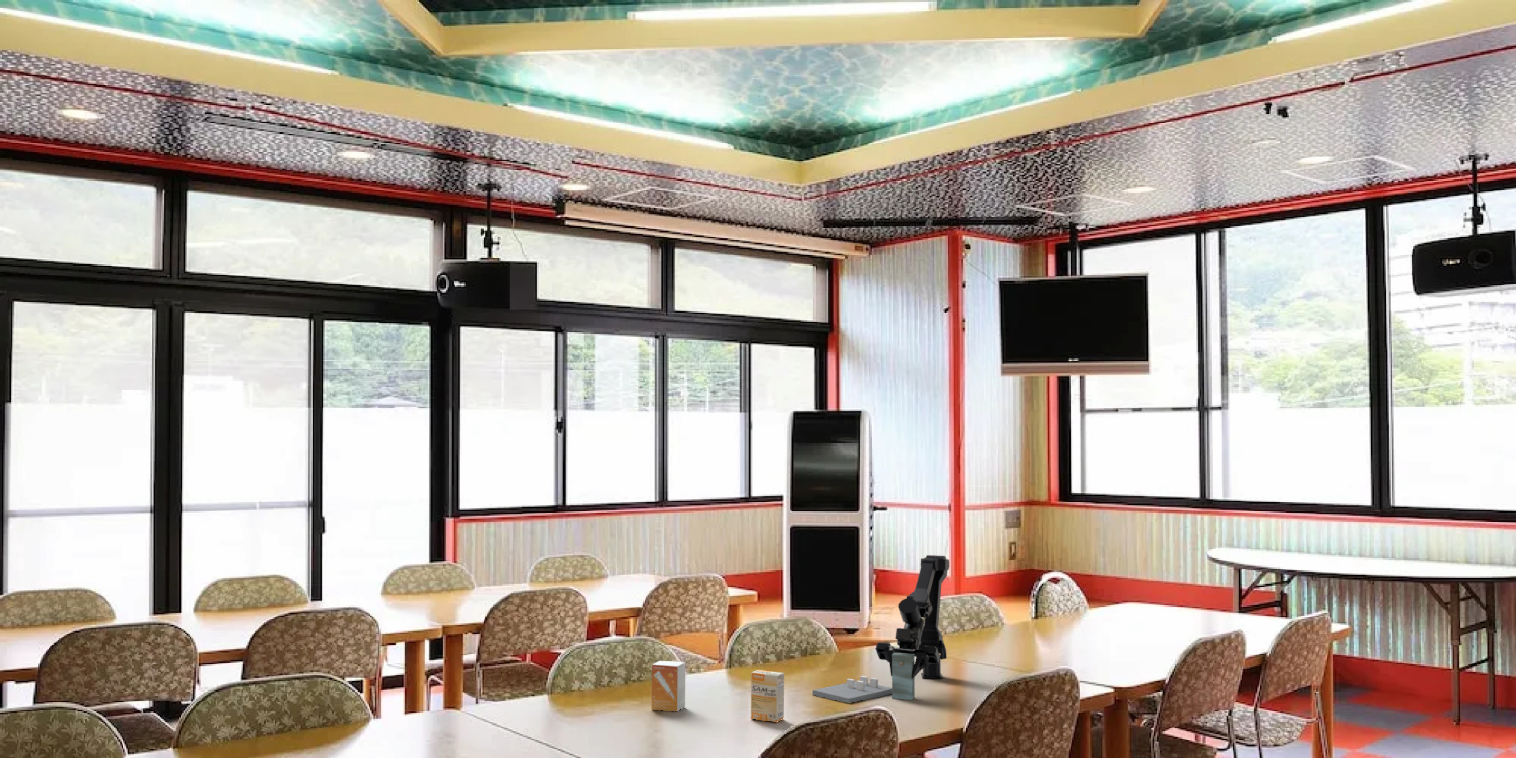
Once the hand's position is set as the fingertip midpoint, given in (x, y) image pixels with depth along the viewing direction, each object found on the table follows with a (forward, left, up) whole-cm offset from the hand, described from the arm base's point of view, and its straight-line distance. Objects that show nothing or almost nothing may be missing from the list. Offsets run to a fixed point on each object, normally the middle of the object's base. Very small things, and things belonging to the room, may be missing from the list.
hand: (901, 676), depth 346 cm
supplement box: (+28, -39, -7) cm, 48 cm away
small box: (+17, -68, -7) cm, 70 cm away
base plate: (-5, -14, -7) cm, 17 cm away
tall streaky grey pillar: (-1, 0, -7) cm, 7 cm away
